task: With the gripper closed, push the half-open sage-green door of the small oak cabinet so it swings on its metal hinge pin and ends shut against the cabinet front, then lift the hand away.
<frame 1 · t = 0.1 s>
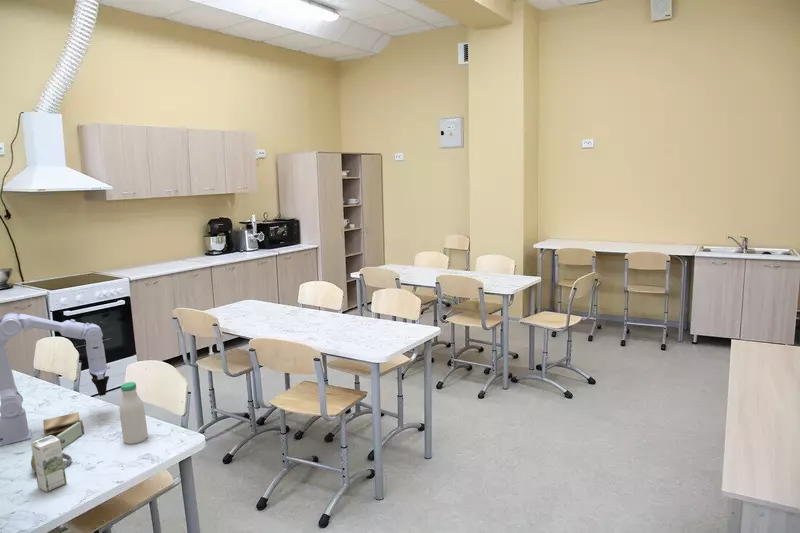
hand: (101, 391, 216), 10 cm above the table, tool pointing down, fingers open, 7 cm apart
door: (70, 435, 199), point 3 cm above the table, hinge at 50.0°
milk bottle: (136, 439, 199), on the table
syrup box: (52, 486, 172), on the table
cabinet: (63, 433, 206), on the table
ceramic mug: (52, 467, 183), on the table
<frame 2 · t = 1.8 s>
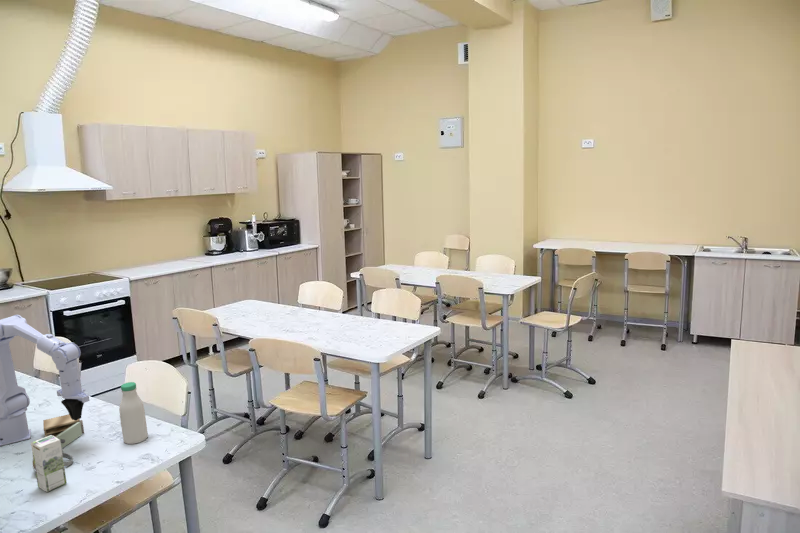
hand: (76, 418, 194), 10 cm above the table, tool pointing down, fingers closed
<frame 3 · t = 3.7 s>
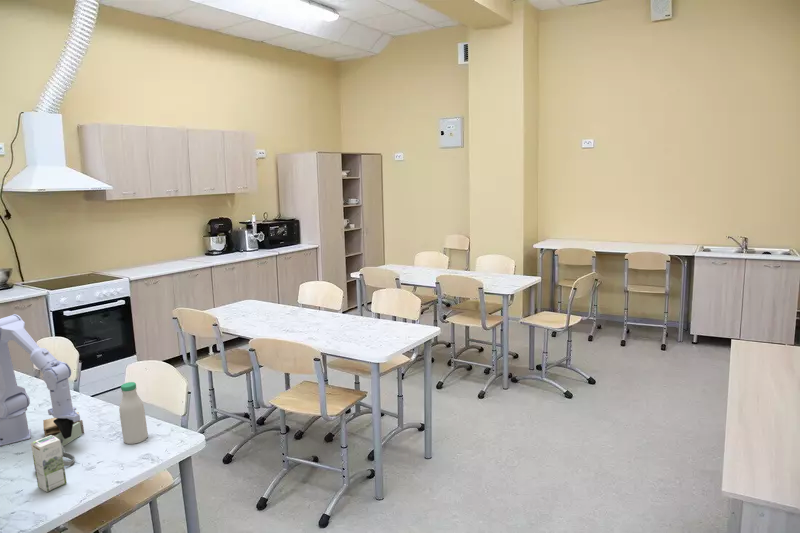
hand: (67, 437, 196), 3 cm above the table, tool pointing down, fingers closed
door: (69, 435, 199), point 3 cm above the table, hinge at 46.0°, touching gripper
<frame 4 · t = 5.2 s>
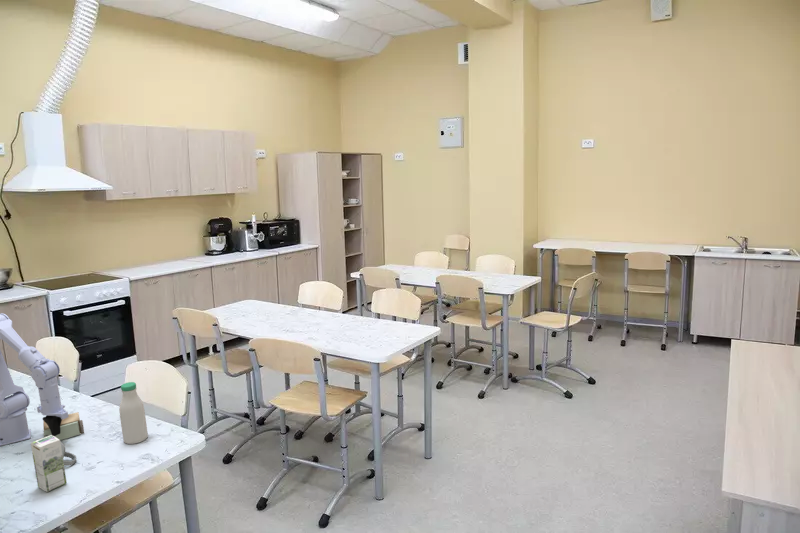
hand: (56, 434, 199), 3 cm above the table, tool pointing down, fingers closed, pressing on door
door: (62, 433, 201), point 3 cm above the table, hinge at 6.9°, touching gripper
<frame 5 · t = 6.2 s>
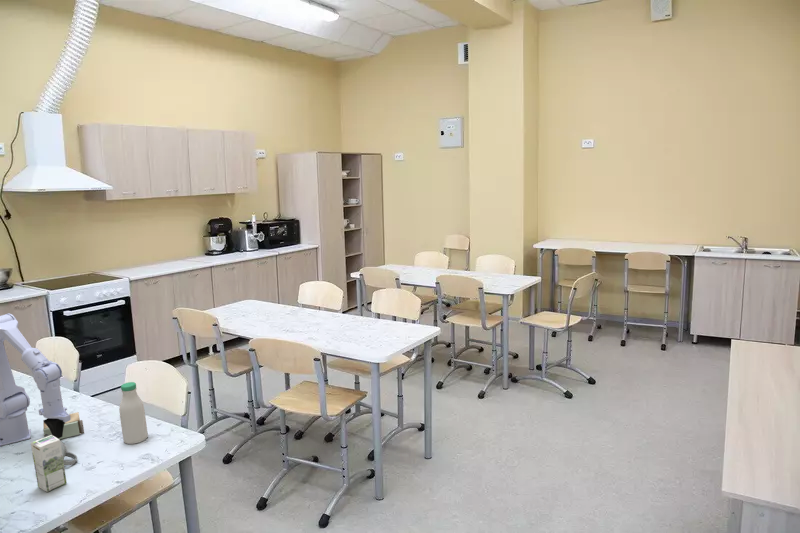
hand: (58, 437, 196), 3 cm above the table, tool pointing down, fingers closed
door: (61, 432, 201), point 3 cm above the table, hinge at -0.1°
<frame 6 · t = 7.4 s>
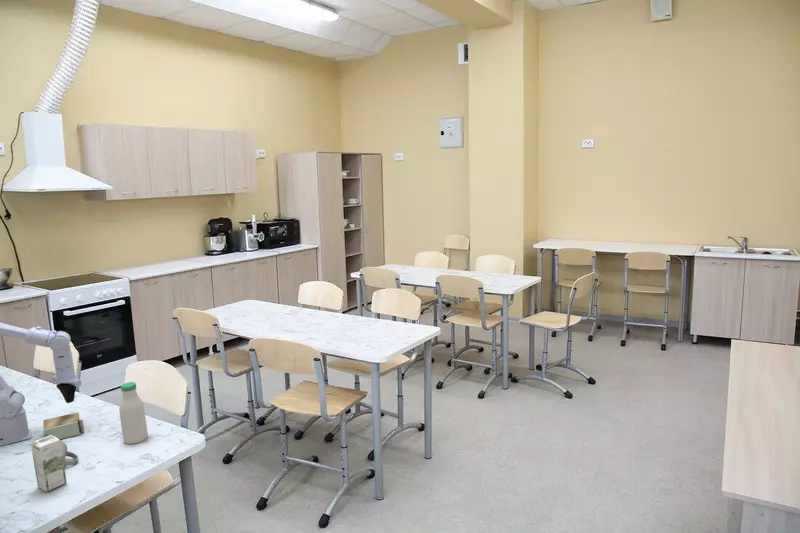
hand: (70, 401, 209), 10 cm above the table, tool pointing down, fingers closed
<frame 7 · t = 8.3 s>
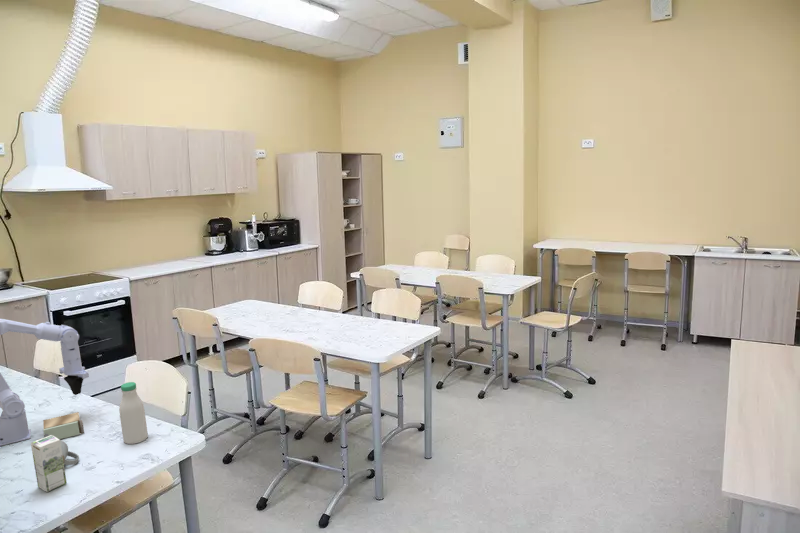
hand: (77, 393, 216), 10 cm above the table, tool pointing down, fingers closed
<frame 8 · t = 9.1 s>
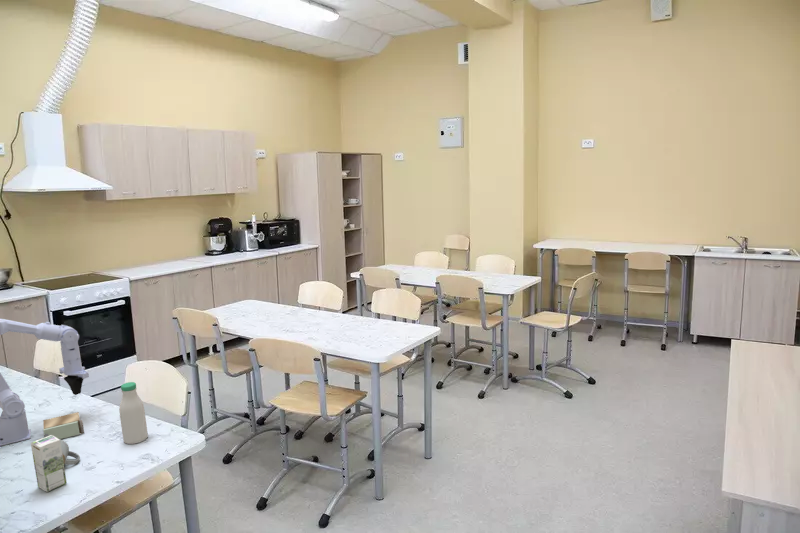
hand: (77, 393, 216), 10 cm above the table, tool pointing down, fingers closed
at the end: door at +0° (first picture: +50°) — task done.
